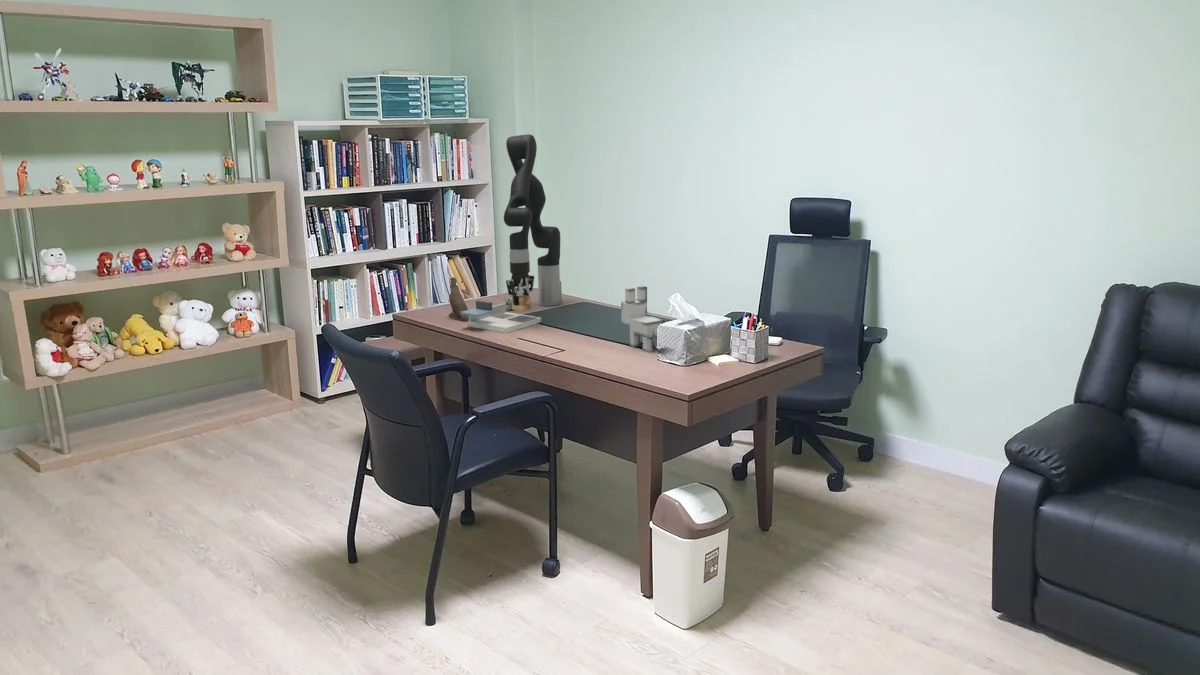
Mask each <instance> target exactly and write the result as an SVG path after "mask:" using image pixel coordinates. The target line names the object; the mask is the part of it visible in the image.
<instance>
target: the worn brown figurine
mask: <svg viewBox="0 0 1200 675" xmlns="http://www.w3.org/2000/svg"><path fill="white" fill-rule="evenodd" d="M449 280H450V286H449V290H450V293H449V295H448V301H449V305H450V306H451V310H452V311H451V312H450V313H449V314H448V318H450V319H452V320H453V319H454V320H456V321H459V322H468V321H469V317H468V315H463V314H461V312H462V311H466V310H469V309H468V307H467V305H466V301H465V299H464V297H463V295H462V293H461V291H460V287H459V286H458V285H457V283H458V280H457V278H456V277H451V278H450V279H449Z"/></svg>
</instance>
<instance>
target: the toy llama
mask: <svg viewBox="0 0 1200 675" xmlns="http://www.w3.org/2000/svg"><path fill="white" fill-rule="evenodd" d="M624 290H625V291H624V293H625V294H624V295H625V296H624V299H625V300H622V301H620V302H621V303H620V304H621V307H620V308H621V309H620V312H621V313H620V314H621V318H620V319H621V322H620V323H622V324H624V325H628V326H629V347H632V348H638V347H637V346H639V347H641V344H642V343H643V344H642V351H643V352H646V353H649V352H653V351H654V349H656V346H657V328H658V326H659V325H660V324H663V323H665V324H666V322H665V319H661V318H658V317H654V316H652V315H648V287H647V286H644V285H641V286H637V287H636V288H633V287H626V288H625V289H624ZM640 337H641V338H640ZM656 350H657V349H656Z"/></svg>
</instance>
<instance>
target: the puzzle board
mask: <svg viewBox="0 0 1200 675" xmlns="http://www.w3.org/2000/svg"><path fill="white" fill-rule="evenodd" d="M492 310H494V313H490V314H487V315H483V316H479V317H475V316H469V315H468V317H469V321H467V327H469V328H476V329H480V330H481V329H483V330H486V331H487V330H488V331H492V332H499V333H503V334H504V333H505V334H509V333H511V332H514V331H518V330H521V328H522V329H525V328H527V327H531V325H532V326H534V325H538V324H540V323H539V322H541V323H542V317H540V316H533V315H526V314H520V313H516V312H509V311H507V310H506V303H505V302H503V303H500V304H495V305H492ZM537 323H538V324H537Z"/></svg>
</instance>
